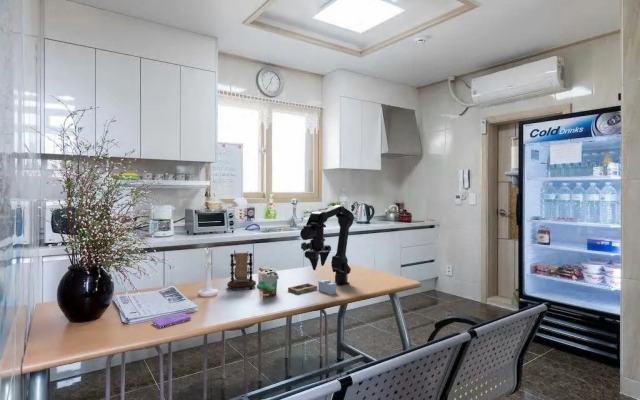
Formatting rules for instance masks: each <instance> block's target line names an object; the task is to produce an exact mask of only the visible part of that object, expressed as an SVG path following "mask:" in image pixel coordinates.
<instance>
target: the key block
mask: <svg viewBox="0 0 640 400" xmlns="http://www.w3.org/2000/svg"><path fill="white" fill-rule="evenodd" d="M334 282H335V281H334ZM334 282H333V281H331V280H330V279H322V280H318V291H319V292H322V293H325V294H328V295H333V294H336V293H337V284H336V283H334Z"/></svg>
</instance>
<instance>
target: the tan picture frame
mask: <svg viewBox="0 0 640 400" xmlns="http://www.w3.org/2000/svg"><path fill="white" fill-rule="evenodd" d="M317 290H318V285H315V284H313V283H312V284H311V283H309V282H308V283H301V284H298V285H294V286H289V287H287V291H288V292H290V293H292V294H295V295H301V294H304V293H308V292H312V291H317Z"/></svg>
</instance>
